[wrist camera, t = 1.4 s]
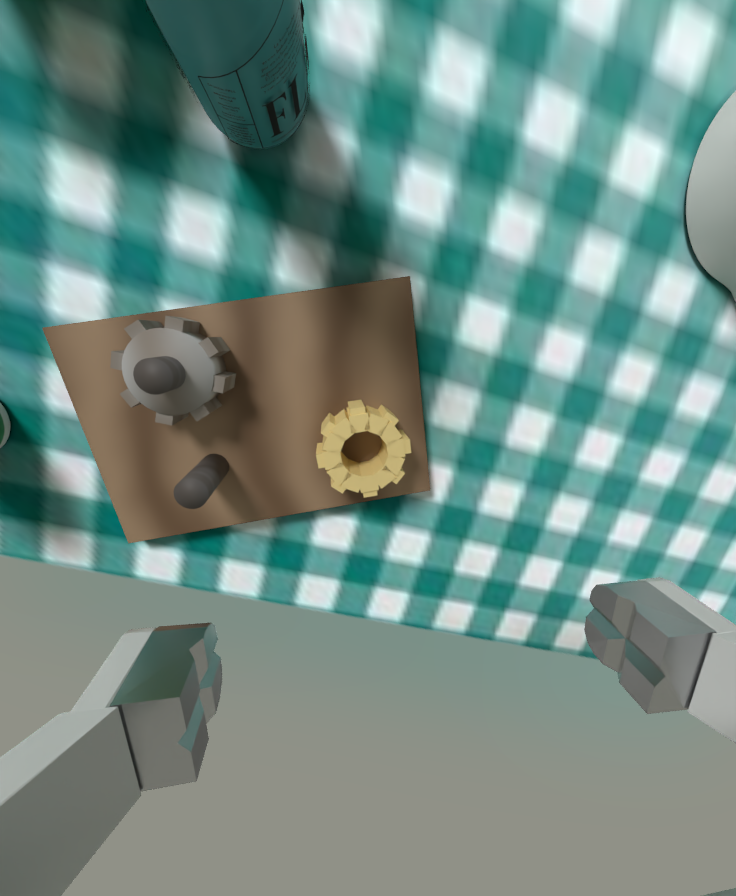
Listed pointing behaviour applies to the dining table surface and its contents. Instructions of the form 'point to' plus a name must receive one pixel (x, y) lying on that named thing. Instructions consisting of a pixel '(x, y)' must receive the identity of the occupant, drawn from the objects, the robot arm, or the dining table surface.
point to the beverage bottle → (241, 63)
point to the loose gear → (367, 472)
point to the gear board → (241, 402)
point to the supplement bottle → (4, 426)
